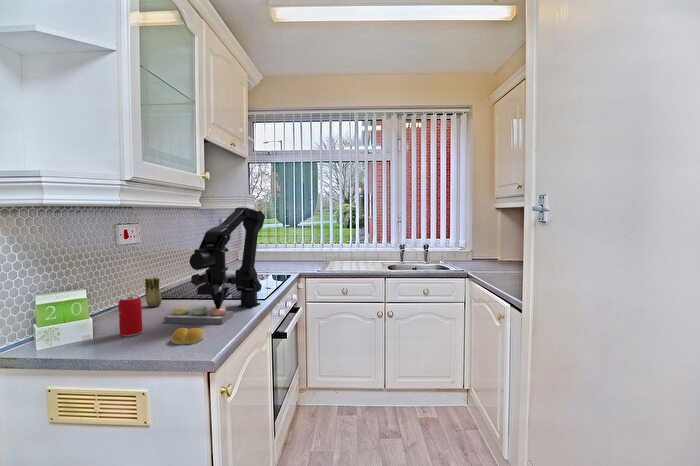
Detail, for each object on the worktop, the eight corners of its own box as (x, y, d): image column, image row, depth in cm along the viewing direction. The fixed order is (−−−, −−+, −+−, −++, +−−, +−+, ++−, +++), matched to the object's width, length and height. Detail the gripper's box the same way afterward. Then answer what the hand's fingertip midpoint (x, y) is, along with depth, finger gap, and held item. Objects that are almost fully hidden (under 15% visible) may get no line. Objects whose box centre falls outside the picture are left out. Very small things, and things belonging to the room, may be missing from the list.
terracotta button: (214, 311, 131) (214, 306, 131) (228, 312, 130) (227, 306, 130) (208, 315, 126) (208, 310, 126) (222, 316, 125) (221, 310, 125)
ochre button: (178, 310, 132) (177, 305, 132) (191, 311, 132) (190, 305, 131) (170, 314, 127) (170, 309, 127) (183, 315, 127) (183, 309, 126)
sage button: (196, 311, 131) (196, 306, 131) (209, 311, 131) (209, 306, 131) (189, 315, 126) (189, 309, 126) (202, 315, 126) (202, 310, 126)
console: (178, 315, 134) (178, 309, 134) (232, 316, 132) (232, 310, 132) (164, 322, 125) (164, 316, 125) (222, 324, 123) (222, 318, 123)
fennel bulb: (144, 306, 146) (142, 277, 145) (155, 304, 150) (154, 275, 149) (152, 308, 143) (151, 279, 142) (164, 306, 147) (162, 277, 146)
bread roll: (201, 344, 106) (200, 331, 106) (168, 346, 104) (168, 333, 104) (206, 334, 114) (206, 322, 114) (176, 336, 112) (176, 324, 112)
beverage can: (138, 329, 118) (136, 293, 118) (145, 333, 114) (144, 296, 114) (116, 334, 114) (114, 297, 113) (123, 339, 110) (122, 300, 109)
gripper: (207, 261, 137) (208, 301, 138) (180, 269, 118) (182, 315, 119) (235, 261, 136) (236, 301, 137) (213, 270, 117) (214, 316, 118)
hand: (218, 308), depth 128 cm, fingers closed, pressing on terracotta button
